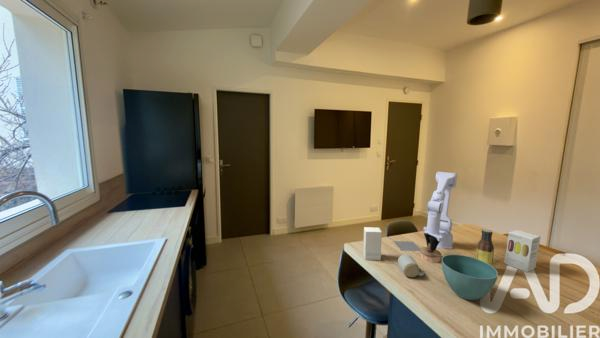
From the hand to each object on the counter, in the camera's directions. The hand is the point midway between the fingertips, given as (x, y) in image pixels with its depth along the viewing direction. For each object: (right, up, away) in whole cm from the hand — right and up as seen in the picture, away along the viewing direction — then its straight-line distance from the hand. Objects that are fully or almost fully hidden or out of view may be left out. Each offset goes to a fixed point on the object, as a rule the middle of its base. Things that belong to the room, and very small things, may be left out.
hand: (431, 248), depth 122 cm
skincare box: (-31, -5, +1) cm, 32 cm away
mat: (-6, -4, +15) cm, 16 cm away
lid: (0, -2, 0) cm, 2 cm away
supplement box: (+42, -7, -5) cm, 43 cm away
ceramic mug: (-17, -7, -13) cm, 23 cm away
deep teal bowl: (-1, -9, -27) cm, 29 cm away
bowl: (0, -6, +1) cm, 6 cm away
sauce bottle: (+20, -7, -9) cm, 23 cm away
